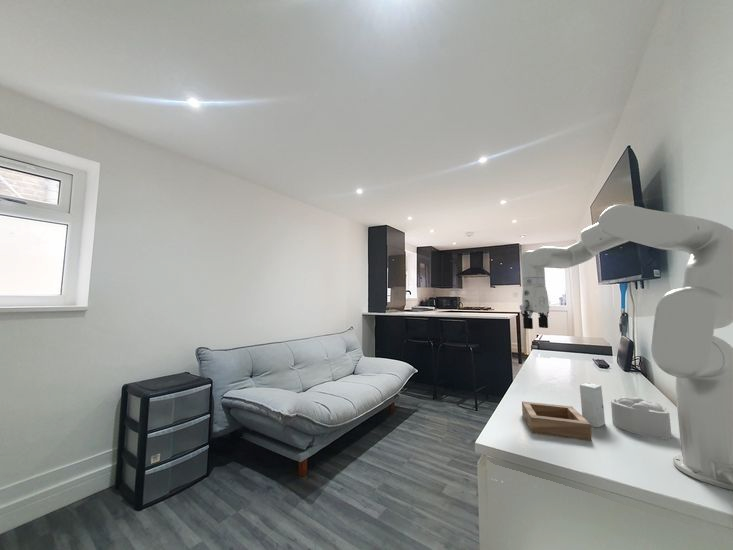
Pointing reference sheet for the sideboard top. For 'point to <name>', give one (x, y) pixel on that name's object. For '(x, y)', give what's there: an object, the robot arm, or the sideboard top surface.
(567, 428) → the square wooden tray
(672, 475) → the sideboard top surface
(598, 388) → the skincare box
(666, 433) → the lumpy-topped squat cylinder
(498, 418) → the sideboard top surface
